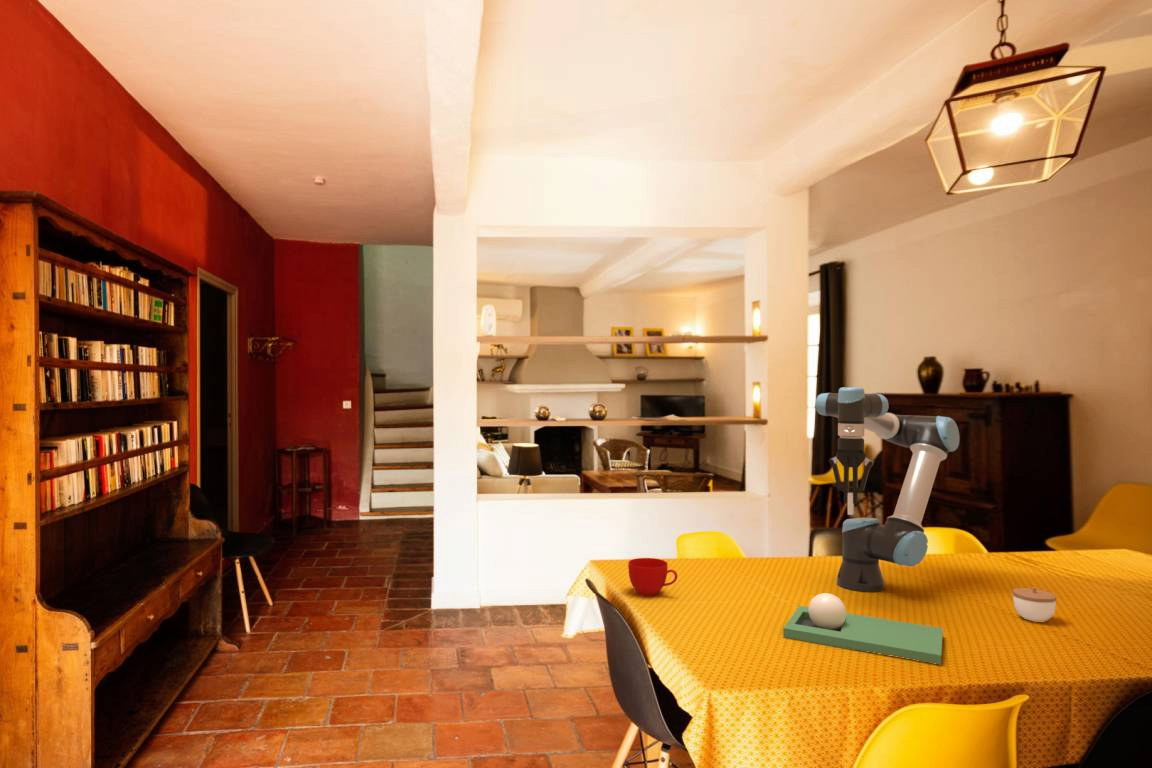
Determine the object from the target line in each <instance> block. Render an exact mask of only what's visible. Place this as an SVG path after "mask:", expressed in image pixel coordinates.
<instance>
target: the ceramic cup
mask: <svg viewBox="0 0 1152 768" xmlns="http://www.w3.org/2000/svg"><path fill="white" fill-rule="evenodd" d="M627 564H628V565H627V566H628V567H627V568H628V577H629V581H630V583H631V585H632V587H633V589H634V590H635V591H636V592H637V594H638V595H640V596H643V597H644V596H646V597H651V596H656V595H658V594H659V593H660V592H661V590H662V589H663V588H664V587H667V586H671V585H673V584H674V583H676V581H677V580H678V573H677V571H676V570H674V569H668V568H669V567H668V565H669V564H668V561H666V560H664V559H660V558H654V557H652V558H651V557H640V558H633V559H630V560H629V561H628V563H627ZM669 573H673V575H674V579H673V580H671V581H670V582H667V583H666V581H667V576H668V574H669Z"/></svg>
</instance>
